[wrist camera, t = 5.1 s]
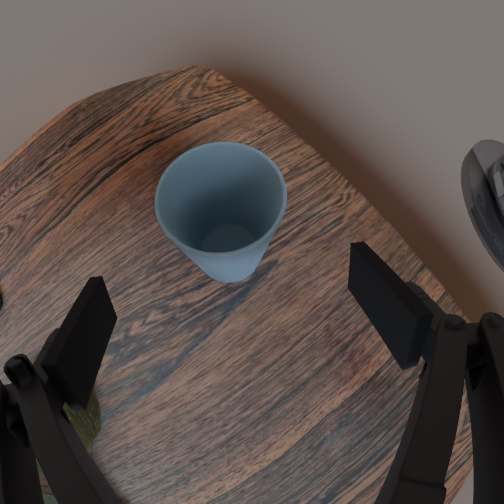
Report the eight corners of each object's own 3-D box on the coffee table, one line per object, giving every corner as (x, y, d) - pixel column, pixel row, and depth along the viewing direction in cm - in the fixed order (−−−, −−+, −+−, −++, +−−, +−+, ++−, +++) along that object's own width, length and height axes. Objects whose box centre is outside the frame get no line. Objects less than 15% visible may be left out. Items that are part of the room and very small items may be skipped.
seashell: (58, 336, 22) (41, 421, 14) (119, 378, 26) (128, 462, 17) (15, 390, 22) (-1, 465, 13) (69, 423, 26) (69, 497, 17)
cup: (223, 198, 29) (213, 123, 19) (290, 244, 27) (312, 182, 18) (169, 259, 27) (129, 204, 17) (237, 313, 25) (230, 285, 16)
